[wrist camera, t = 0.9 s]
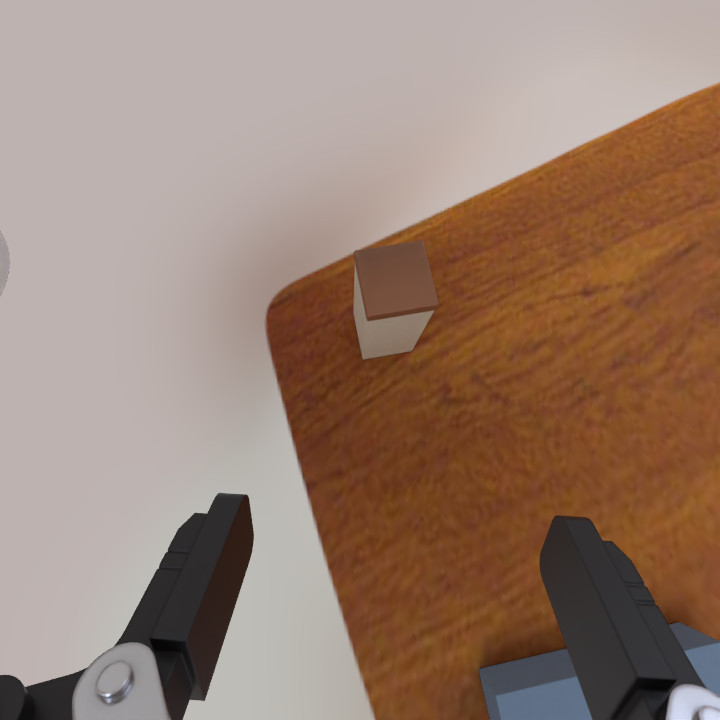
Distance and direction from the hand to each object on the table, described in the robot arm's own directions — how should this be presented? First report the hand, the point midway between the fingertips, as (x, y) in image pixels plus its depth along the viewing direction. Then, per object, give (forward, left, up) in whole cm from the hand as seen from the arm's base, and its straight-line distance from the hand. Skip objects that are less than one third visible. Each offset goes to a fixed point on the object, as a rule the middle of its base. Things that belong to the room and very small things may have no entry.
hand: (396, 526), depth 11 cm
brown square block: (+3, +10, -17) cm, 20 cm away
